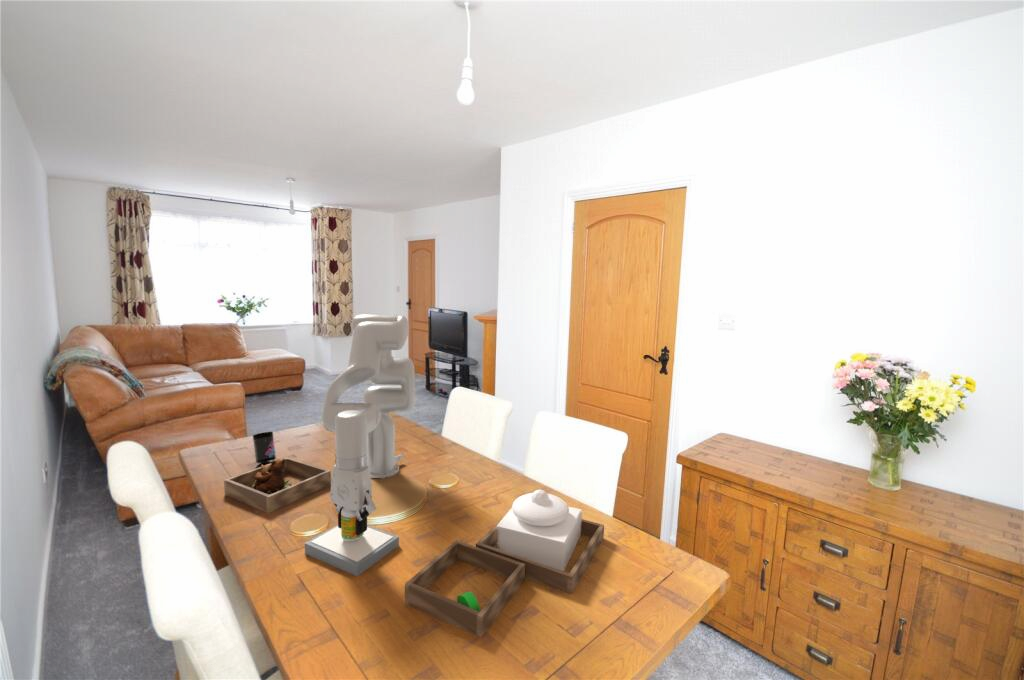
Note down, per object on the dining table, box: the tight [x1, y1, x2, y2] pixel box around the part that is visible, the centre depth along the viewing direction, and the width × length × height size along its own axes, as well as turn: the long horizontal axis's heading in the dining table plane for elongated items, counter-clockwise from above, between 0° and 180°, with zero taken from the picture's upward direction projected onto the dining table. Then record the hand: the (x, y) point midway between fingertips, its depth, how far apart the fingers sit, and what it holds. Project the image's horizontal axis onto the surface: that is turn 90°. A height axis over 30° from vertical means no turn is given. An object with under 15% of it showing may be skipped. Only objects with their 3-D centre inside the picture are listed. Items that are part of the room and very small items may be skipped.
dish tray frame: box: [475, 518, 605, 595], centre depth 115 cm, size 25×25×5 cm
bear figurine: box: [250, 457, 294, 495], centre depth 143 cm, size 14×15×12 cm
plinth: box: [304, 524, 400, 577], centre depth 113 cm, size 14×18×3 cm
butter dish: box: [496, 489, 583, 572], centre depth 117 cm, size 18×18×16 cm
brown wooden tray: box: [223, 456, 332, 514], centre depth 145 cm, size 22×22×5 cm
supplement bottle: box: [341, 507, 364, 541], centre depth 113 cm, size 5×5×10 cm
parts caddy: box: [404, 539, 526, 638], centre depth 99 cm, size 19×19×5 cm
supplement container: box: [252, 431, 277, 465], centre depth 165 cm, size 7×7×10 cm
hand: (352, 528), depth 113 cm, fingers closed on supplement bottle, 5 cm apart
